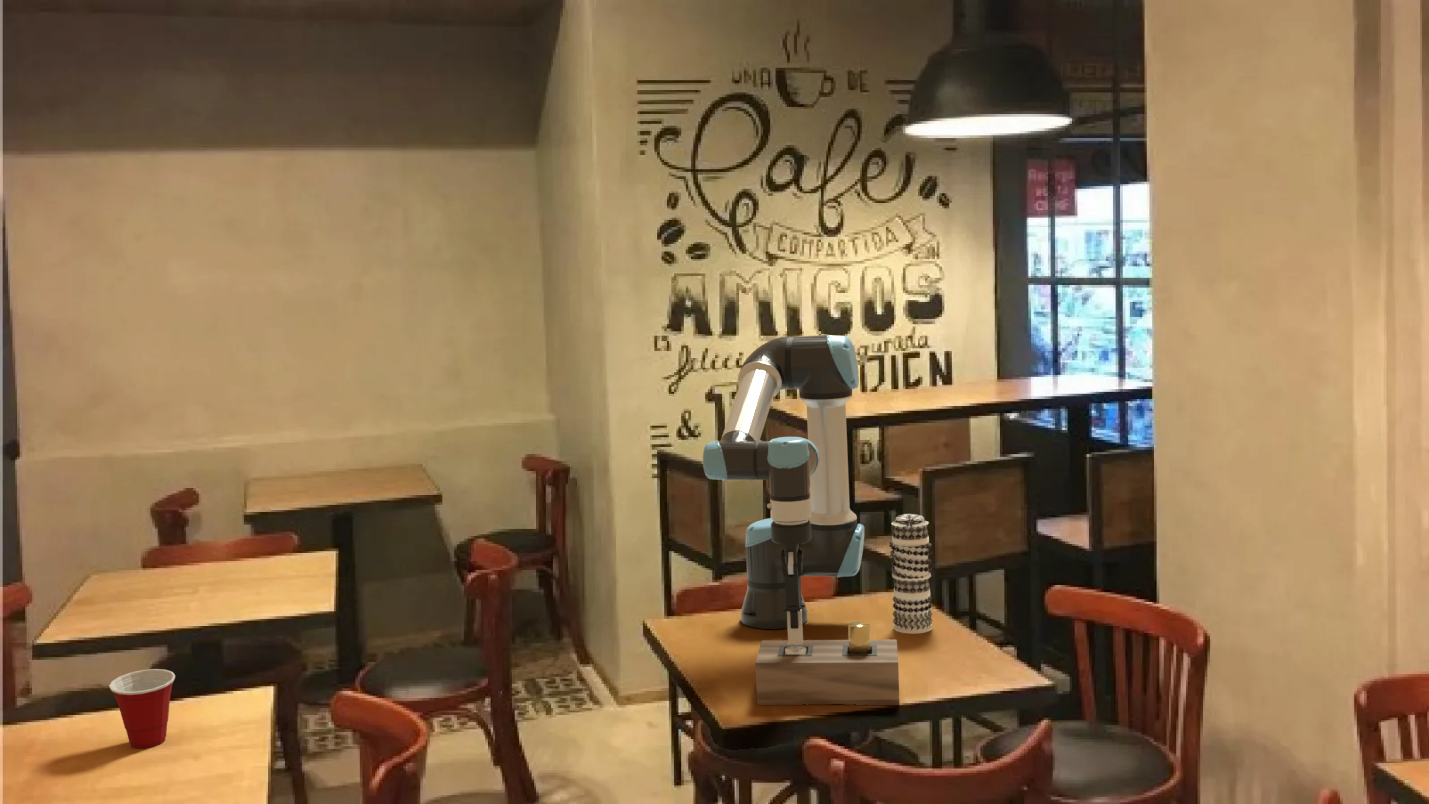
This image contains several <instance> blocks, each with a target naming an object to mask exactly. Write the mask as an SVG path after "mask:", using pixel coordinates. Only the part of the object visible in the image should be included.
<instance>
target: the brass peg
mask: <svg viewBox="0 0 1429 804" xmlns="http://www.w3.org/2000/svg"><path fill="white" fill-rule="evenodd" d="M870 626H871V625H870V623H869V622H865V621H852V622H850V623H848V624H847V629H848V630H847V631H848V632H847V633H848V640H849V654H871V653H870V640H871V627H870Z"/></svg>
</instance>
